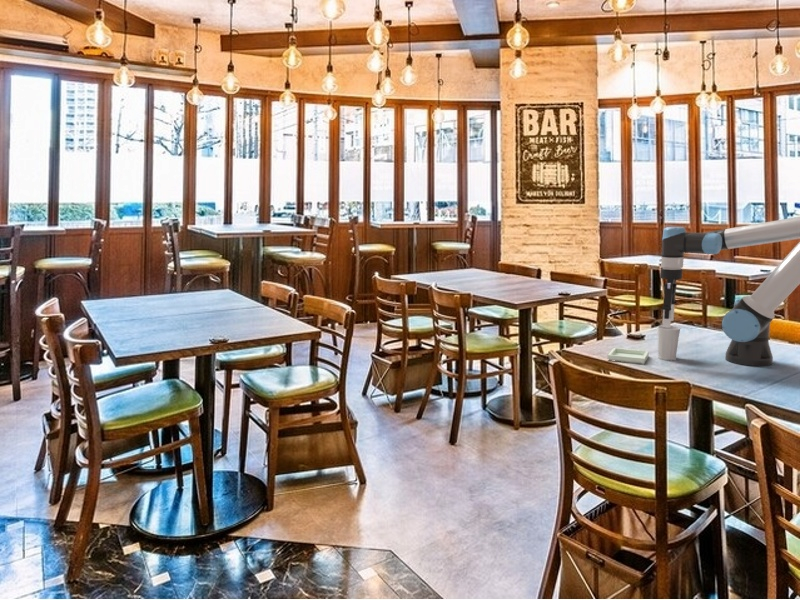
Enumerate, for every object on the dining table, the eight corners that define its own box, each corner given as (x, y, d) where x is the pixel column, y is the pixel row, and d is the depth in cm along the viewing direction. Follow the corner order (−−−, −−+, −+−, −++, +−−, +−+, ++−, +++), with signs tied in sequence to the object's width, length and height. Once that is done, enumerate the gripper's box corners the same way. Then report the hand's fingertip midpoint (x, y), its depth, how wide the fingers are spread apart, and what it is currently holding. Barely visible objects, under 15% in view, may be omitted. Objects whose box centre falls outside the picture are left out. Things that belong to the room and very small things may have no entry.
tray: (648, 356, 224) (648, 350, 224) (644, 364, 213) (644, 358, 213) (613, 352, 230) (613, 347, 230) (607, 360, 219) (607, 354, 219)
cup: (680, 361, 217) (682, 329, 215) (658, 360, 218) (659, 329, 216) (675, 355, 224) (677, 325, 222) (653, 355, 226) (655, 325, 224)
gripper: (664, 264, 228) (660, 317, 232) (656, 271, 207) (653, 328, 211) (685, 265, 225) (681, 318, 228) (680, 272, 203) (676, 330, 207)
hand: (667, 323), depth 219 cm, fingers open, 13 cm apart
